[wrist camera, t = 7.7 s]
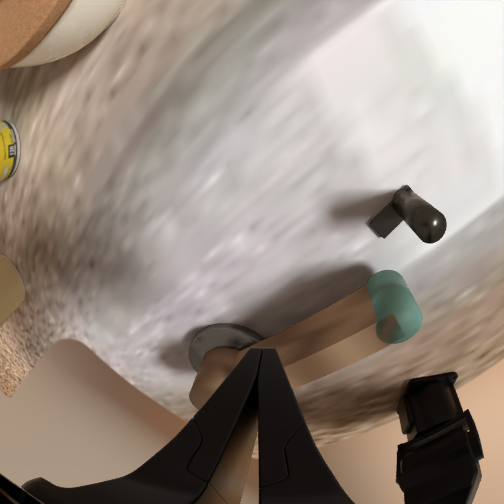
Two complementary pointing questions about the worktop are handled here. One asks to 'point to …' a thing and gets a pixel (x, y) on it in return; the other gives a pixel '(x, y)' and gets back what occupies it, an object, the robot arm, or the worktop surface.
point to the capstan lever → (327, 336)
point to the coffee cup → (9, 289)
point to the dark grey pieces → (400, 208)
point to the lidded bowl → (50, 28)
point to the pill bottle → (8, 149)
